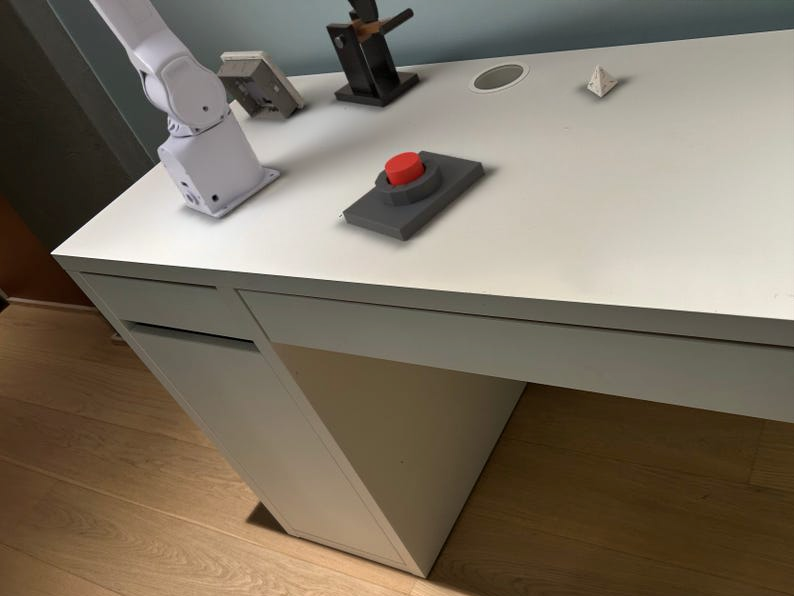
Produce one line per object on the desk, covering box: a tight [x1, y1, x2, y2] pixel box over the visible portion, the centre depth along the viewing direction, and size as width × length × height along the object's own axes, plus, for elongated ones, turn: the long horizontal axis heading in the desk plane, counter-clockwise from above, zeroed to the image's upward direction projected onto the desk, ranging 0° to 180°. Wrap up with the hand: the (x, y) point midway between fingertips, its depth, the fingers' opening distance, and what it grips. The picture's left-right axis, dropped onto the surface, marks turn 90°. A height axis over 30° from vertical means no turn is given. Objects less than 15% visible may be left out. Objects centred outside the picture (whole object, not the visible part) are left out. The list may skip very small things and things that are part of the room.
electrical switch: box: [215, 50, 306, 120], centre depth 99 cm, size 9×5×9 cm, turn 57°
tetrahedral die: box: [586, 64, 619, 98], centre depth 80 cm, size 4×3×3 cm
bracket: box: [325, 8, 421, 108], centre depth 94 cm, size 10×7×10 cm
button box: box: [341, 150, 485, 242], centre depth 73 cm, size 12×9×3 cm
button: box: [384, 151, 424, 186], centre depth 72 cm, size 4×4×2 cm
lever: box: [346, 7, 415, 45], centre depth 89 cm, size 11×5×2 cm, turn 49°
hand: (383, 6), depth 89 cm, fingers open, 7 cm apart
